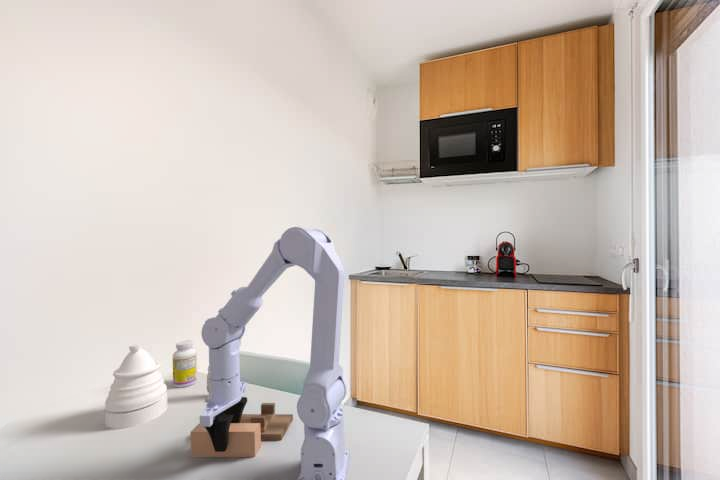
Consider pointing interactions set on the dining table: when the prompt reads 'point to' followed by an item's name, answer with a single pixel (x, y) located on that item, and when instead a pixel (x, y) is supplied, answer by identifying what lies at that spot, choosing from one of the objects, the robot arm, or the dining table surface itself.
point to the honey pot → (136, 391)
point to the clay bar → (240, 441)
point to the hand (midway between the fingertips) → (226, 443)
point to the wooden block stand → (269, 422)
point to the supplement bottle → (184, 364)
